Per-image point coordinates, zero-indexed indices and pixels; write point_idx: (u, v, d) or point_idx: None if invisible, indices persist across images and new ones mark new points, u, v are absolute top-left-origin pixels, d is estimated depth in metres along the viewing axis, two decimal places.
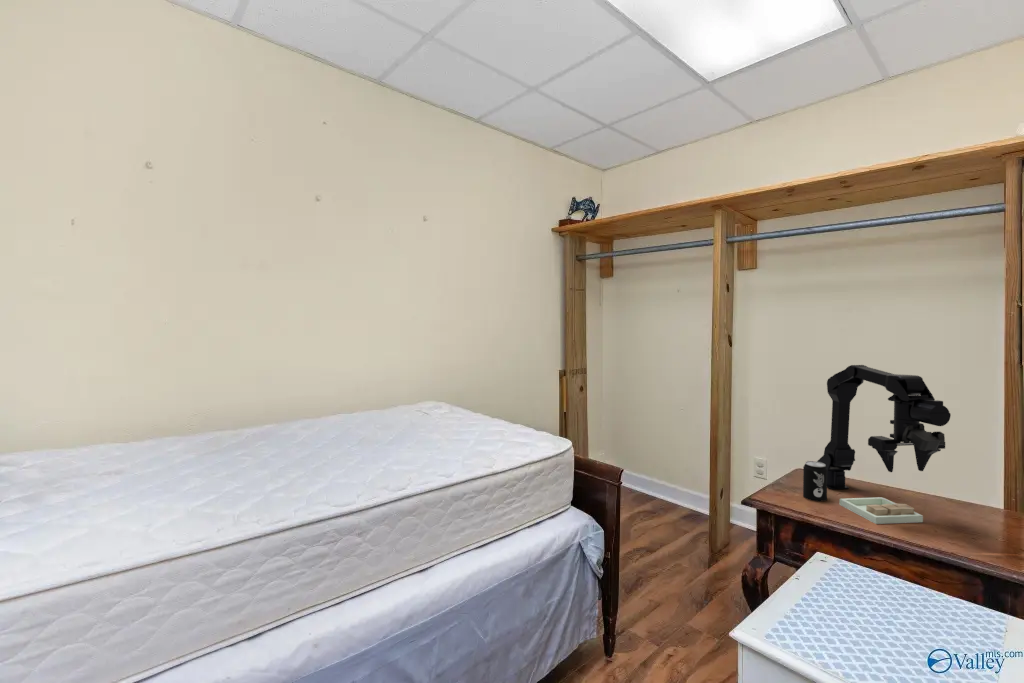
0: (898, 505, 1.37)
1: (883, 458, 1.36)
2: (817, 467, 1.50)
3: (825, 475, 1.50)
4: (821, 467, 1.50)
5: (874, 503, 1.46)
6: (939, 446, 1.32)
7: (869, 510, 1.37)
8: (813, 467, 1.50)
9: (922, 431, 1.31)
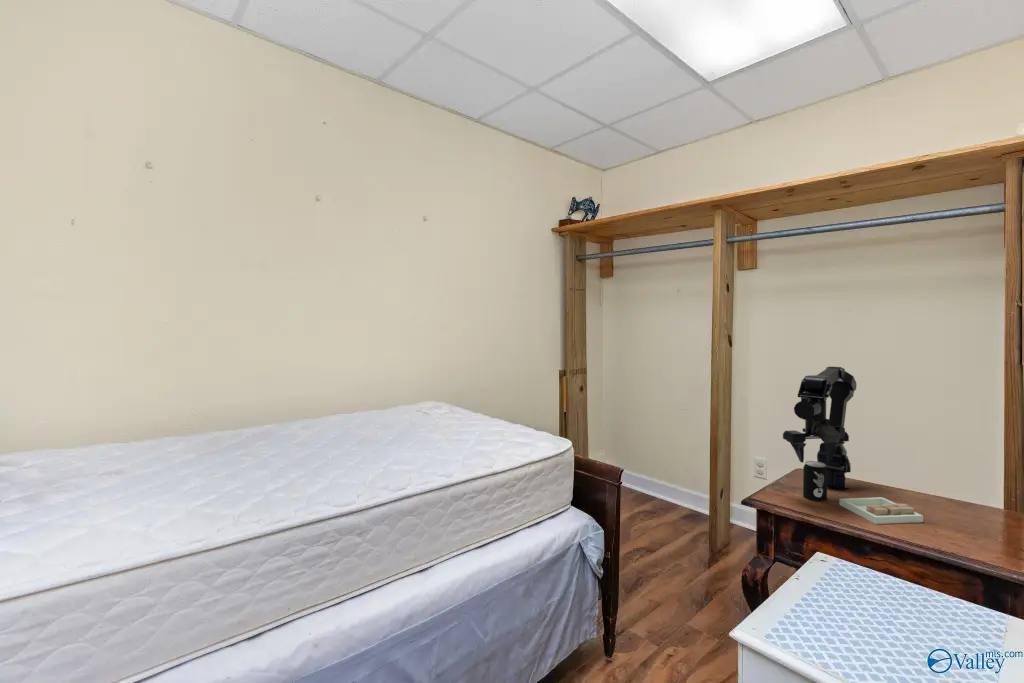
0: (898, 505, 1.37)
1: (796, 450, 1.53)
2: (817, 467, 1.50)
3: (825, 475, 1.50)
4: (821, 467, 1.50)
5: (874, 503, 1.46)
6: (843, 439, 1.49)
7: (869, 510, 1.37)
8: (813, 467, 1.50)
9: (827, 426, 1.47)
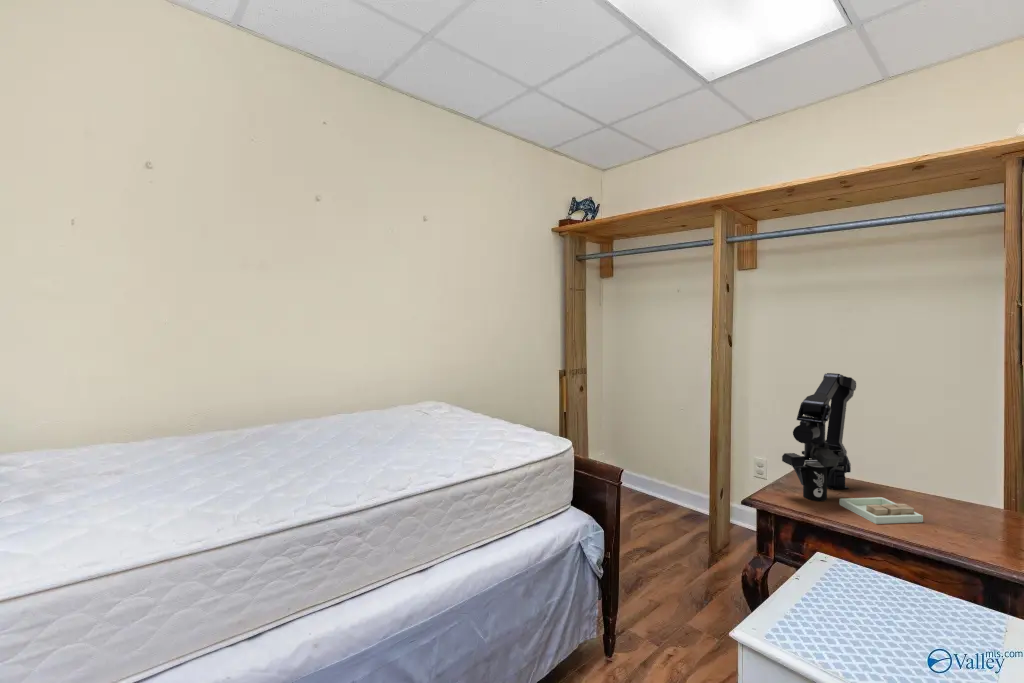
0: (898, 505, 1.37)
1: (797, 473, 1.53)
2: (817, 467, 1.50)
3: (825, 475, 1.50)
4: (821, 467, 1.50)
5: (874, 503, 1.46)
6: (842, 462, 1.49)
7: (869, 510, 1.37)
8: (813, 467, 1.50)
9: (826, 449, 1.48)
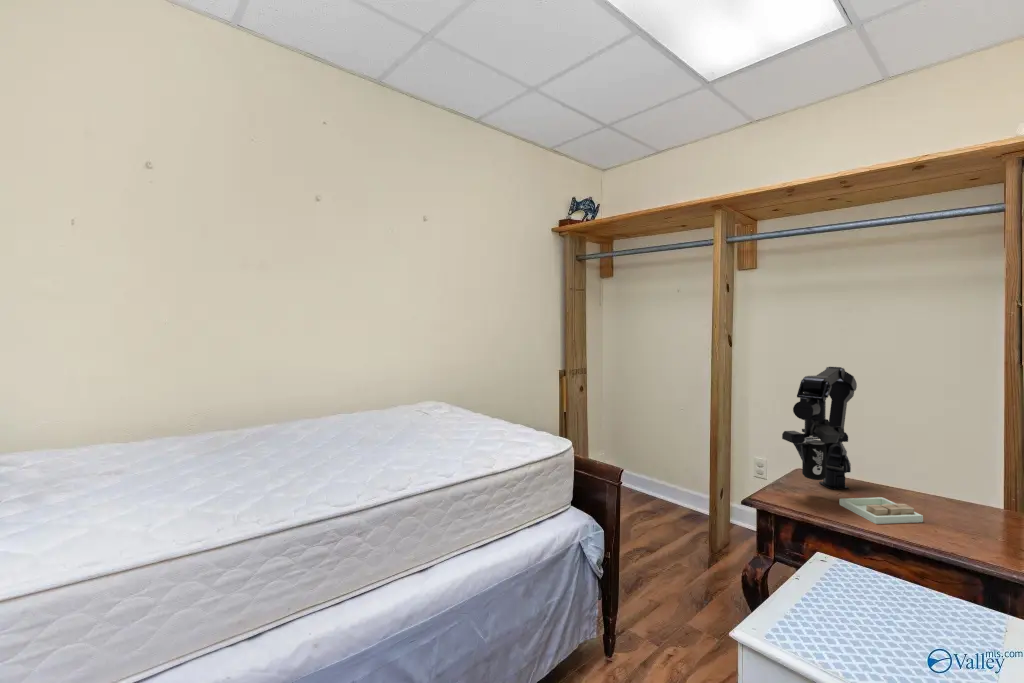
0: (898, 505, 1.37)
1: (798, 450, 1.53)
2: (816, 444, 1.49)
3: (824, 453, 1.49)
4: (820, 444, 1.49)
5: (874, 503, 1.46)
6: (842, 439, 1.49)
7: (869, 510, 1.37)
8: (812, 444, 1.50)
9: (826, 426, 1.48)
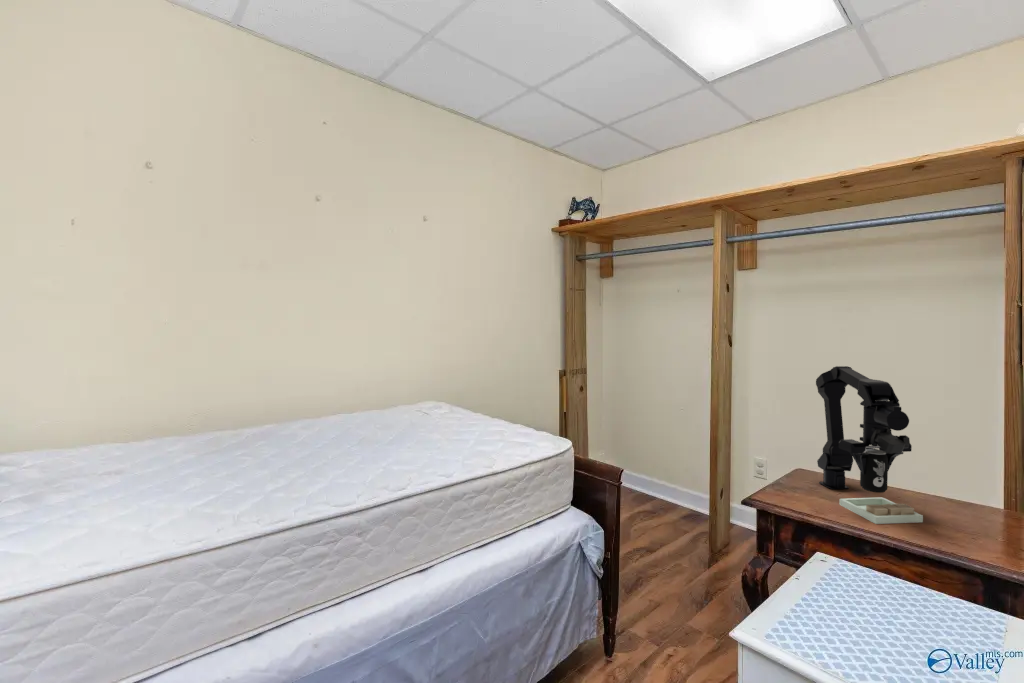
0: (898, 505, 1.37)
1: (856, 460, 1.42)
2: (877, 454, 1.39)
3: (886, 463, 1.39)
4: (882, 454, 1.39)
5: (874, 503, 1.46)
6: (905, 449, 1.39)
7: (869, 510, 1.37)
8: (873, 454, 1.40)
9: (889, 435, 1.37)
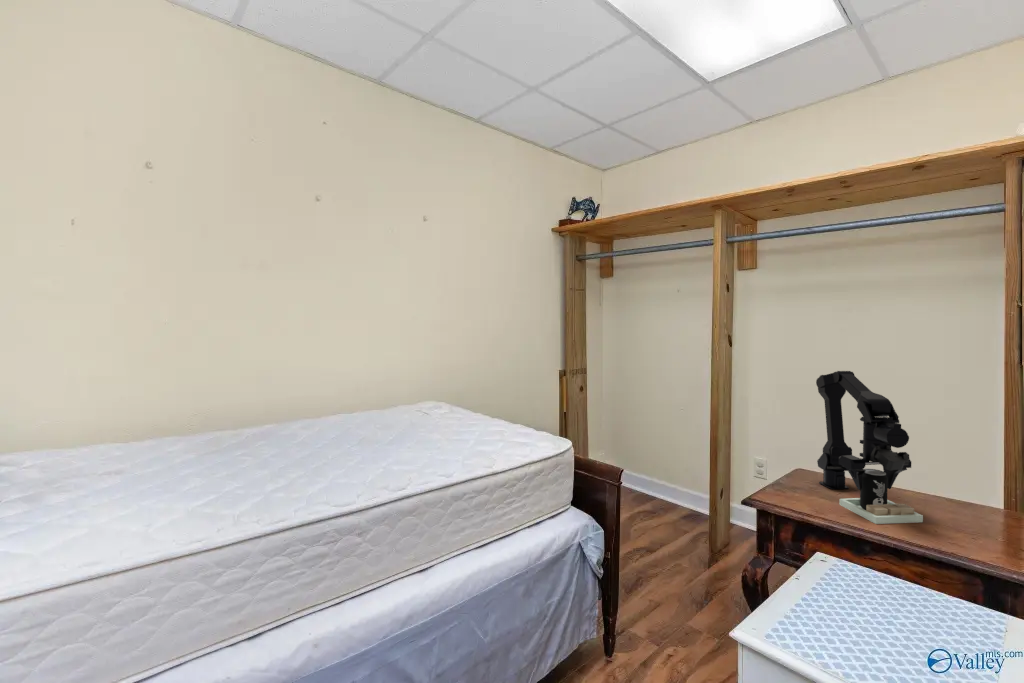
0: (898, 505, 1.37)
1: (853, 476, 1.43)
2: (877, 475, 1.39)
3: (886, 484, 1.39)
4: (881, 475, 1.39)
5: None
6: (905, 465, 1.39)
7: (869, 510, 1.37)
8: (872, 475, 1.40)
9: (889, 451, 1.37)
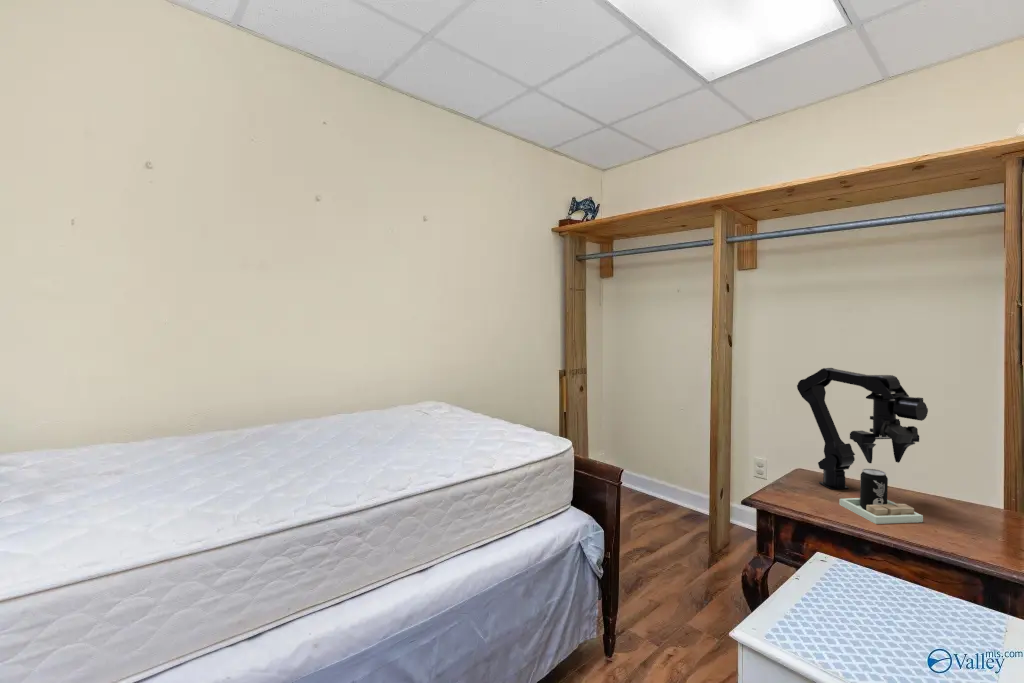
0: (898, 505, 1.37)
1: (863, 450, 1.50)
2: (877, 475, 1.39)
3: (886, 485, 1.39)
4: (881, 475, 1.39)
5: None
6: (913, 439, 1.46)
7: (869, 510, 1.37)
8: (872, 475, 1.40)
9: (898, 426, 1.44)
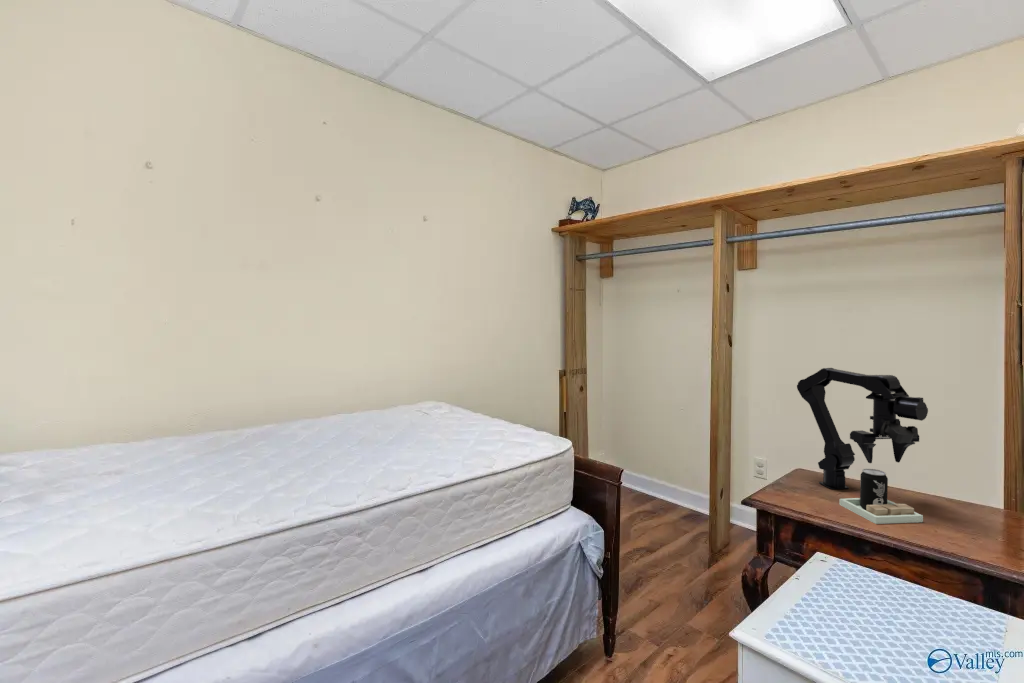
0: (898, 505, 1.37)
1: (863, 450, 1.50)
2: (877, 475, 1.39)
3: (886, 485, 1.39)
4: (881, 475, 1.39)
5: None
6: (914, 439, 1.46)
7: (869, 510, 1.37)
8: (872, 475, 1.40)
9: (898, 426, 1.44)
